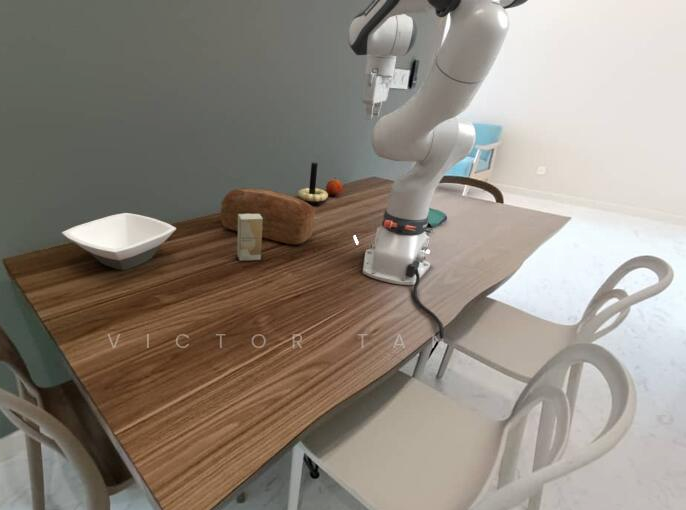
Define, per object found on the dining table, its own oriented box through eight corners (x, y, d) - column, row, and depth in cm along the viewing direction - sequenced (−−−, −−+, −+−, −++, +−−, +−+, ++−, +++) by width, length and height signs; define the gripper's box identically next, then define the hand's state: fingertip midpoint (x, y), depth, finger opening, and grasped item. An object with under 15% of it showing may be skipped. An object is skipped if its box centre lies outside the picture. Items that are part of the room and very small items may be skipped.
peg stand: (317, 206, 155) (321, 166, 147) (296, 202, 158) (299, 163, 150) (325, 201, 163) (329, 162, 155) (304, 197, 165) (308, 159, 158)
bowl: (186, 255, 110) (184, 227, 106) (118, 287, 93) (112, 255, 88) (131, 237, 119) (127, 210, 115) (60, 263, 102) (52, 232, 97)
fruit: (333, 192, 174) (335, 174, 170) (344, 196, 170) (347, 177, 166) (322, 194, 170) (323, 176, 166) (333, 199, 166) (335, 179, 162)
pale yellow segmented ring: (322, 204, 154) (322, 197, 152) (293, 199, 157) (294, 192, 156) (330, 196, 163) (331, 190, 162) (303, 192, 167) (304, 185, 165)
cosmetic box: (239, 261, 109) (239, 219, 102) (236, 255, 112) (236, 213, 106) (262, 260, 110) (263, 218, 104) (259, 253, 114) (259, 212, 108)
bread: (302, 250, 118) (305, 206, 111) (216, 229, 128) (214, 188, 121) (317, 237, 127) (321, 196, 120) (236, 219, 138) (235, 180, 131)
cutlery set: (451, 217, 153) (452, 211, 152) (432, 240, 131) (434, 233, 130) (401, 206, 162) (402, 201, 160) (375, 226, 139) (377, 220, 138)
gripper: (382, 69, 112) (374, 122, 119) (395, 70, 128) (387, 116, 135) (361, 67, 114) (354, 119, 121) (376, 69, 130) (369, 114, 137)
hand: (372, 118), depth 128 cm, fingers open, 8 cm apart
